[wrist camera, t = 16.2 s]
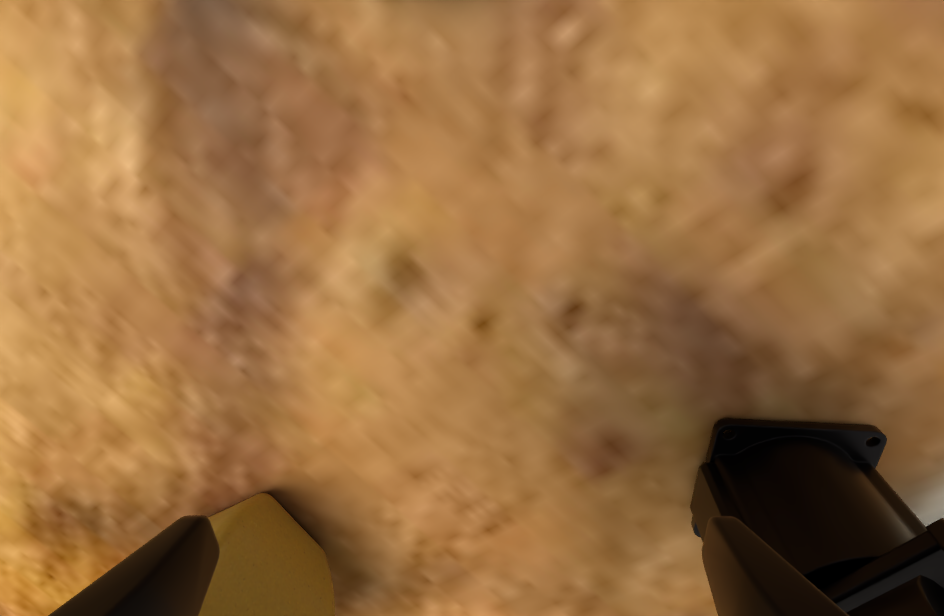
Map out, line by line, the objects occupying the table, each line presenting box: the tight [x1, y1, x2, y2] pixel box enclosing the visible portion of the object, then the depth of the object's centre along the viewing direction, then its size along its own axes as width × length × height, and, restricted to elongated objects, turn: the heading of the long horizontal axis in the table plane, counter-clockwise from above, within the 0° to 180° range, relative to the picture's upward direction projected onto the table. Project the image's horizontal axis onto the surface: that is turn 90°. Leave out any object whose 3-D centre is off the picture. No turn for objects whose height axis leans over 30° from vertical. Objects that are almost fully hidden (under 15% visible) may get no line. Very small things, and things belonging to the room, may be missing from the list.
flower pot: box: [198, 493, 335, 616], centre depth 23 cm, size 9×9×9 cm
